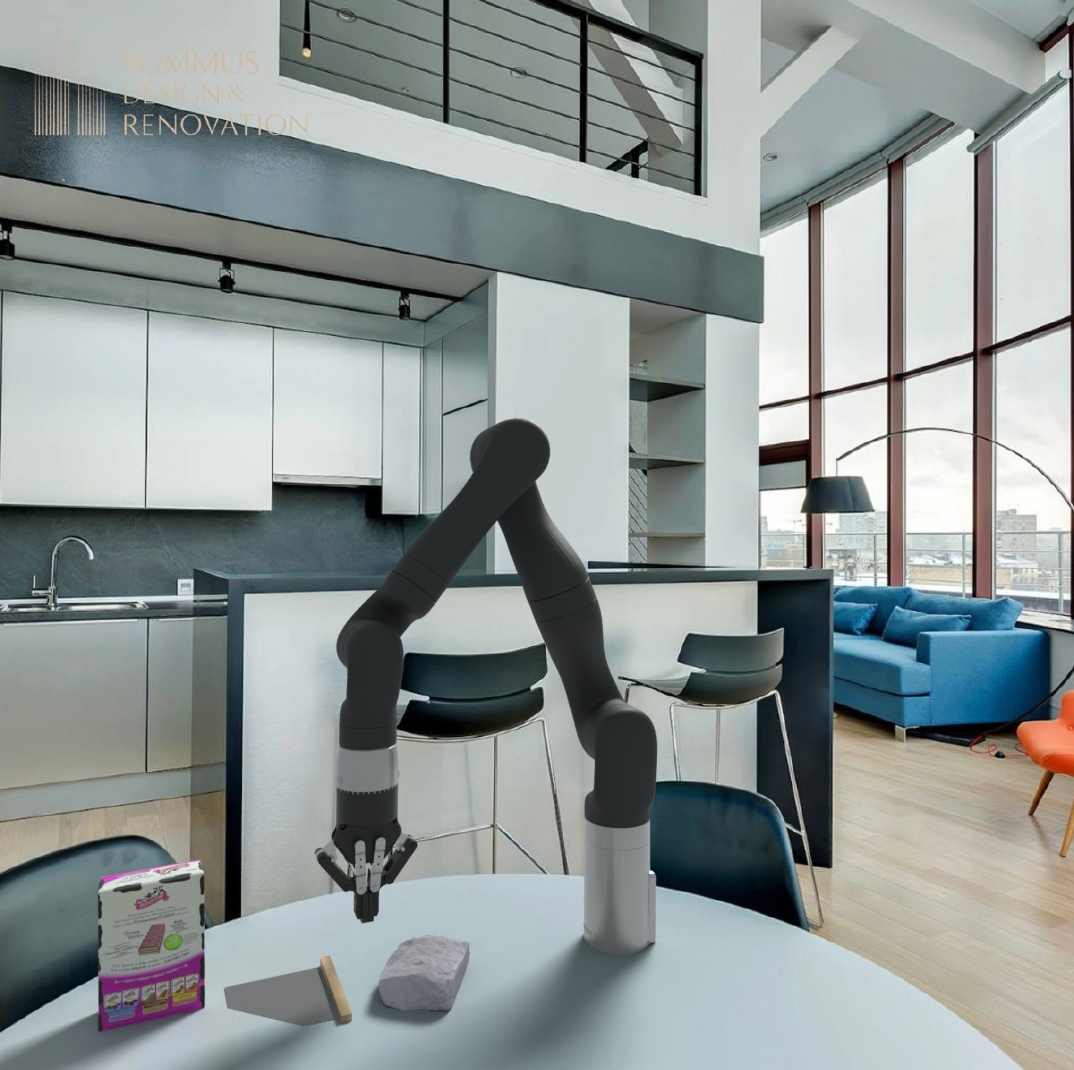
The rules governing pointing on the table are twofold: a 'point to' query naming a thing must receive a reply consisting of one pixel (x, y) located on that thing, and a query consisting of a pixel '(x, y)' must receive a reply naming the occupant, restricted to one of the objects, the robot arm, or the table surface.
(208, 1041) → the table surface
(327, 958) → the strip
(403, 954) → the stone block
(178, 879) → the candy bar box
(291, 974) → the mat
